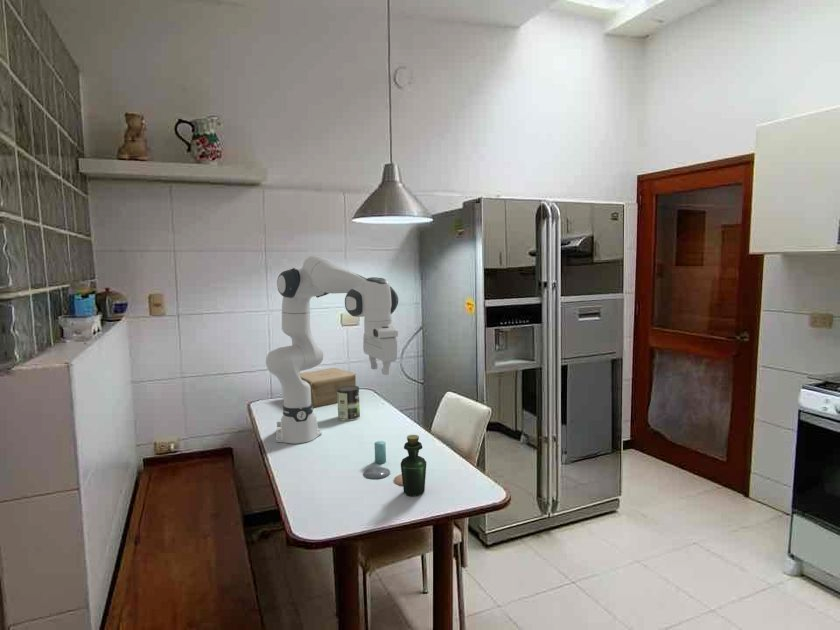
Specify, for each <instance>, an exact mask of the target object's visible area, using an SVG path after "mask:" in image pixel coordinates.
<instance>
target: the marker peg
mask: <svg viewBox="0 0 840 630" xmlns="http://www.w3.org/2000/svg"><path fill="white" fill-rule="evenodd" d="M373 444H374V463H375V464H376V465H382V464H385V463H386V462H387V452H386V451H387V449H386V448H387V447H386V445H387V444H386V441H384V440H380V441H379V440H378V441H376V442H374V443H373Z"/></svg>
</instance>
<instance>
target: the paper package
mask: <svg viewBox="0 0 840 630" xmlns="http://www.w3.org/2000/svg"><path fill="white" fill-rule="evenodd" d="M356 375H357V374H356V373H354V372H351V371H349V370H344V369H340V368H337V367H331V368H326V369H318V370H312V371H306V372H300V377H301V379H302V380H304V381H306V382H307V383H309V385H310V387H311V403H312V405H313V408H317V407H323V406H327V405H331V404H336V403H337V404H338V400H337V388H338V387H342V386H357V385H356V384H357V382H356Z"/></svg>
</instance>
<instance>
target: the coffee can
mask: <svg viewBox="0 0 840 630" xmlns="http://www.w3.org/2000/svg"><path fill="white" fill-rule="evenodd" d="M337 400H338V403H337V419H338V420H339V421H342V422H349V421H350V422H351V421H352V422H353V421H357V420H359V419H360V418H361V409H360V406H361V405H360V387H359V386H357V385H356V386H342V387H338V388H337Z"/></svg>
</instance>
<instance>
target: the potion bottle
mask: <svg viewBox="0 0 840 630" xmlns="http://www.w3.org/2000/svg"><path fill="white" fill-rule="evenodd" d="M419 438H420V436H419V435H417V434H409V435H407V436H406V440H407V442H406V441H405V443H404V446H403V449H404V450H406V451H407V456H406V457H404V458H402V460H401V462H400V470H401V473H400V474H402V481H403V486H402V488H403V489H402V490H403V493H404V494H405V496H408V497H419V496H422V495H423V494H424V493H425V489H426V486H425V485H426V476H427V475H426V474H427V461H426V459H425V458H424V457H422V456H420V455H419V451H420V450H422V449H423V445H422V443H421V442H420V441H419V440H420V439H419Z"/></svg>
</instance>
